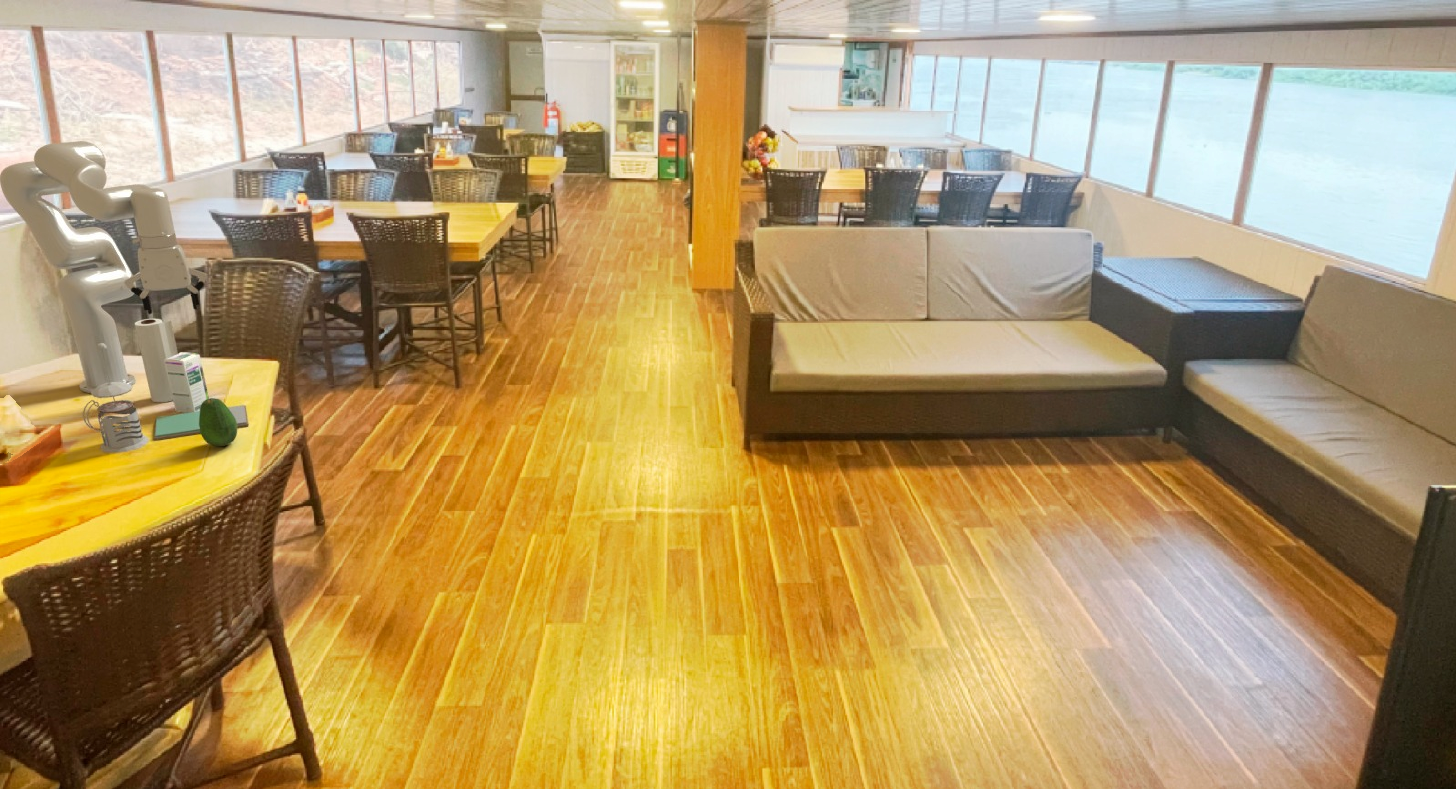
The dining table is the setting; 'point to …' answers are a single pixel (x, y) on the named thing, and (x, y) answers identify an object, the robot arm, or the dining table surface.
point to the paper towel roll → (156, 355)
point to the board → (191, 423)
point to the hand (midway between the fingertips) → (173, 310)
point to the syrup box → (186, 381)
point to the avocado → (217, 423)
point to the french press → (113, 438)
